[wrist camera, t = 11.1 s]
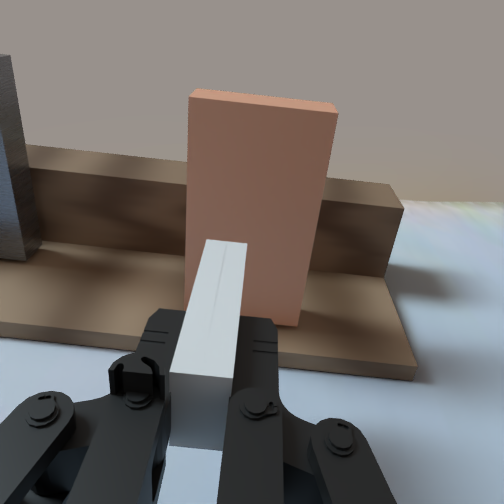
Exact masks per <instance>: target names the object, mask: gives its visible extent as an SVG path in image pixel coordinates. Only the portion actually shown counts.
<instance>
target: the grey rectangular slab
mask: <svg viewBox="0 0 504 504" xmlns="http://www.w3.org/2000/svg"><path fill="white" fill-rule="evenodd" d="M41 246H42V239H41V233H40V227H39V221H38V215H37V209H36V204H35V198H34V192H33V186H32V180H31V174H30V168H29V162H28V157H27V151H26V145H25V139H24V133H23V127H22V122H21V116H20V109H19V104H18V98H17V92H16V86H15V80H14V74H13V69H12V62H11V57H10V55H5V54H0V258H4V259H13V260H22V261H27V260H28V259H29V258H30V257H31V256H32V255H33V254H34V253H35V252H36V251H37V250H38V249H39V248H40V247H41Z"/></svg>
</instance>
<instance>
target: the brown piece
mask: <svg viewBox="0 0 504 504" xmlns="http://www.w3.org/2000/svg"><path fill="white" fill-rule="evenodd" d="M25 145H26V151H27V157H28V162H29V168H30V174H31V180H32V186H33V192H34V198H35V204H36V209H37V215H38V221H39V227H40V233H41V239H42V246H41V247H40V248H39V249H38V250H37V251H36V252H35V253H34V254H33V255H32V256H31V257H30V258H29V259H28V260H27V261H22V260H13V259H4V258H0V336H2V337H11V338H20V339H30V340H39V341H48V342H57V343H66V344H76V345H85V346H94V347H103V348H113V349H122V350H131V351H136V349H137V346H138V344H139V342H140V338H141V336H142V333H143V332H144V328H145V326H146V323H147V321H148V318H149V317H150V316H151V315H152V314H153V313H155V312H156V311H157V310H158V309H159V308H163V309H173V310H182V311H184V292H185V245H186V199H187V162H181V161H171V160H163V159H154V158H145V157H136V156H126V155H117V154H109V153H100V152H90V151H82V150H72V149H63V148H54V147H44V146H36V145H27V144H25ZM403 212H404V207H403V206H402V204H401V202H400V201H399V199H398V198H397V196H396V195H395V193H394V191H393V189H392V188H391V186H390V185H389V184H381V183H372V182H363V181H354V180H344V179H335V178H327V177H326V181H325V186H324V191H323V196H322V201H321V207H320V212H319V217H318V222H317V227H316V233H315V238H314V243H313V248H312V253H311V259H310V264H309V269H308V274H307V279H306V285H305V290H304V295H303V300H302V305H301V311H300V316H299V321H298V326H297V327H295V326H286V325H277V324H275V326H276V328H277V330H278V366H279V367H288V368H297V369H306V370H316V371H325V372H334V373H343V374H353V375H362V376H371V377H380V378H389V379H399V380H408V381H412V380H413V378H414V375H415V373H416V370H417V368H418V365H417V363H416V360H415V358H414V355H413V353H412V350H411V347H410V345H409V342H408V340H407V337H406V334H405V332H404V329H403V327H402V324H401V322H400V319H399V316H398V314H397V311H396V309H395V306H394V303H393V301H392V298H391V296H390V293H389V291H388V288H387V285H386V283H385V280H384V275H385V272H386V268H387V265H388V262H389V258H390V255H391V252H392V248H393V245H394V242H395V238H396V235H397V232H398V228H399V225H400V222H401V218H402V215H403Z"/></svg>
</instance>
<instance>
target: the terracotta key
mask: <svg viewBox="0 0 504 504" xmlns="http://www.w3.org/2000/svg"><path fill="white" fill-rule="evenodd" d="M188 107H189V108H188V112H189V113H188V155H187V157H188V158H187V199H186V245H185V292H184V311H187V307H188V304H189V300H190V297H191V293H192V290H193V286H194V282H195V279H196V275H197V272H198V268H199V265H200V261H201V258H202V254H203V250H204V247H205V243H206V240H207V239H209V240H219V241H228V242H238V243H247V251H246V261H245V270H244V280H243V289H242V299H241V309H240V315H241V316H251V317H261V318H270V319H272V321H273V323H274V324H277V325H286V326H295V327H297V326H298V321H299V316H300V311H301V305H302V300H303V295H304V290H305V285H306V279H307V274H308V269H309V264H310V259H311V253H312V248H313V243H314V238H315V233H316V227H317V222H318V217H319V212H320V207H321V201H322V196H323V191H324V186H325V181H326V175H327V170H328V165H329V160H330V155H331V149H332V144H333V139H334V134H335V129H336V124H337V118H338V112H337V110H336V108H335V106H334V104H333V103H325V102H316V101H307V100H298V99H290V98H280V97H272V96H263V95H254V94H245V93H236V92H227V91H217V90H209V89H199V88H197V89H196V90H195V91H194V92H193V93H192V94H191V95H190V96H189V106H188Z"/></svg>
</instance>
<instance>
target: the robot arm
mask: <svg viewBox="0 0 504 504" xmlns="http://www.w3.org/2000/svg"><path fill="white" fill-rule="evenodd" d="M246 251H247V243H238V242H228V241H219V240H209V239H207V240H206V243H205V247H204V250H203V254H202V258H201V261H200V265H199V268H198V272H197V275H196V279H195V282H194V286H193V290H192V293H191V297H190V300H189V304H188V307H187V311H182V310H173V309H163V308H159V309H158V310H157V311H156V312H155V313H153V314H152V315H151V316H150V317H149V318H148V321H147V323H146V326H145V328H144V332H143V333H142V336H141V338H140V342H139V344H138V346H137V349H136V351H135V353H131V354H128V355H125V356H122V357H121V358H119V359H118V360H116V361H115V362H113V364H112V365H111V367H110V368H109V369H108V373H109V383H110V394H108V395H106V396H104V397H101V398H97V399H93V400H88V401H82V402H76V403H73V402H72V400H71V398H70V397H69V396H67V395H65V394H64V393H62V392H55V391H48V392H42V393H38V394H36V395H33V396H31V397H29V398H27V399H26V400H25V401H23V402H22V403H21V404H19V405H18V406H17V407H16V408H15V409H14V410H13V411H12V412H11V414H10V415H9V416H8V417H7V418H6V419H5V420H4V421H3V422H2V423H1V424H0V504H157V501H158V497H159V492H160V488H161V484H162V479H163V475H164V471H165V466H166V449H167V445H168V441H169V446H178V447H188V448H198V449H208V450H218V451H223V454H222V462H221V471H220V480H219V488H218V497H217V504H397V503H396V501H395V499H394V497H393V495H392V493H391V490H390V488H389V486H388V484H387V482H386V480H385V478H384V476H383V474H382V471H381V469H380V467H379V465H378V463H377V461H376V459H375V457H374V455H373V453H372V450H371V448H370V446H369V444H368V442H367V440H366V438H365V437H364V435H363V434H362V432H361V431H360V430H359V429H358V428H357V427H355V426H354V425H353V424H352V423H350V422H347V421H345V420H342V419H337V418H328V419H325V420H321V421H320V422H319V423H317V424H316V425H314V424H312V423H309V422H307V421H304V420H302V419H300V418H298V417H296V416H294V415H293V414H291V413H290V412H289V411H288V410H287V409H286V408H285V407H284V405H283V404H282V402H281V400H280V397H279V378H278V330H277V328H276V326H275V324H274V323H273V321H272V319H270V318H261V317H251V316H241V315H240V309H241V299H242V289H243V280H244V270H245V261H246Z"/></svg>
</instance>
